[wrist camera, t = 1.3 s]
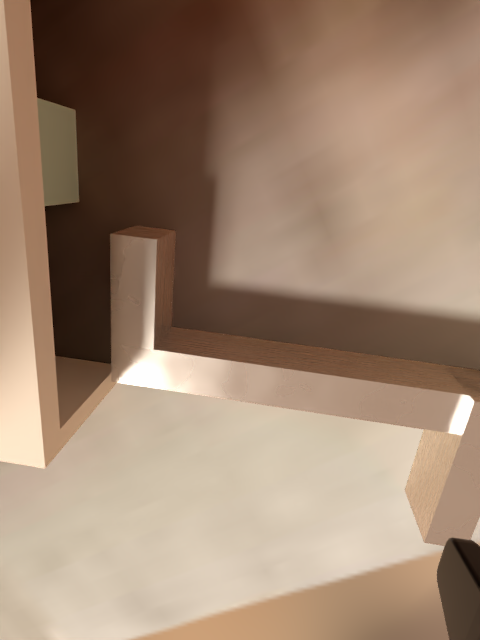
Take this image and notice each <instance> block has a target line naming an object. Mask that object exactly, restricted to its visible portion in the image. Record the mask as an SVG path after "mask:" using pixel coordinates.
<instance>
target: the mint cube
mask: <svg viewBox="0 0 480 640" xmlns="http://www.w3.org/2000/svg"><path fill="white" fill-rule="evenodd" d="M37 105H38V120H39V134H40V148H41V163H42V177H43V191H44V206H50V205H59V204H67V203H76V202H79V183H78V159H77V134H76V110H74V109H71V108H68V107H65V106H62V105H59V104H55V103H52V102H49V101H46V100H43V99H40V98H37Z"/></svg>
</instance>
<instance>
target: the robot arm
mask: <svg viewBox="0 0 480 640" xmlns="http://www.w3.org/2000/svg"><path fill="white" fill-rule="evenodd" d="M437 582H438V588H439V592H440V597H441V602H442V607H443V611H444V616H445V621H446V625H447V631H448V635H449V640H480V546H479V545H478V544H477V543H475V542H474V541H472V540H467V539H460V538H454V537H452V538H449V539H448V540H447V542H446V544H445V547H444V550H443V553H442V556H441V559H440V562H439V566H438V569H437Z"/></svg>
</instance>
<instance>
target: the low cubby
mask: <svg viewBox="0 0 480 640" xmlns="http://www.w3.org/2000/svg"><path fill="white" fill-rule="evenodd" d="M116 383H117V382H111V364H108V363H101V362H94V361H87V360H81V359H74V358H67V357H60V356H55V349H54V335H53V320H52V306H51V292H50V277H49V263H48V249H47V234H46V220H45V206H44V191H43V177H42V163H41V148H40V134H39V120H38V105H37V91H36V77H35V62H34V48H33V34H32V19H31V5H30V0H0V461H3V462H9V463H15V464H21V465H27V466H33V467H39V468H46V467H47V466H48V465H49V463H50V462H51V461H52V460H53V459H54V457H55V456H56V455H57V454H58V453H59V451H60V450H61V449H62V448H63V447H64V445H65V444H66V443H67V442H68V441H69V439H70V438H71V437H72V436H73V435H74V433H75V432H76V431H77V430H78V429H79V427H80V426H81V425H82V424H83V423H84V421H85V420H86V419H87V418H88V417H89V415H90V414H91V413H92V412H93V411H94V409H95V408H96V407H97V406H98V405H99V403H100V402H101V401H102V400H103V399H104V397H105V396H106V395H107V394H108V393H109V391H110V390H111V389H112V388H113V387H114V385H115V384H116Z"/></svg>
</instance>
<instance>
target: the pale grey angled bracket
mask: <svg viewBox="0 0 480 640" xmlns="http://www.w3.org/2000/svg"><path fill="white" fill-rule="evenodd" d="M175 241H176V230H168V229H160V228H152V227H144V226H133V227H130V228H126V229H123V230H120V231H117V232H114V233H111V234H110V280H111V382H117V383H124V384H131V385H137V386H144V387H150V388H157V389H163V390H170V391H176V392H183V393H190V394H196V395H203V396H209V397H216V398H222V399H229V400H235V401H242V402H249V403H255V404H262V405H268V406H275V407H281V408H288V409H294V410H301V411H308V412H314V413H321V414H327V415H334V416H340V417H347V418H353V419H360V420H367V421H373V422H380V423H386V424H393V425H399V426H406V427H412V428H419V429H424V430H423V433H422V437H421V440H420V443H419V446H418V449H417V452H416V456H415V459H414V462H413V465H412V468H411V471H410V475H409V478H408V481H407V484H406V487H405V492H406V495H407V498H408V500H409V503H410V506H411V509H412V511H413V514H414V517H415V519H416V522H417V525H418V527H419V530H420V533H421V535H422V538H423V541H424V542H425V543H431V544H436V545H442V546H445V544H446V542H447V540H448V539H449V538H452V537H454V538H460V539H467V540H470V539H471V537H472V534H473V532H474V529H475V527H476V524H477V522H478V520H479V517H480V370H477V369H470V368H463V367H455V366H448V365H441V364H434V363H427V362H420V361H413V360H406V359H399V358H392V357H385V356H377V355H370V354H363V353H356V352H349V351H342V350H335V349H328V348H321V347H314V346H306V345H299V344H292V343H285V342H278V341H271V340H264V339H257V338H250V337H243V336H236V335H228V334H221V333H214V332H207V331H200V330H193V329H186V328H179V327H172V326H171V325H172V304H173V283H174V262H175Z"/></svg>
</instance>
